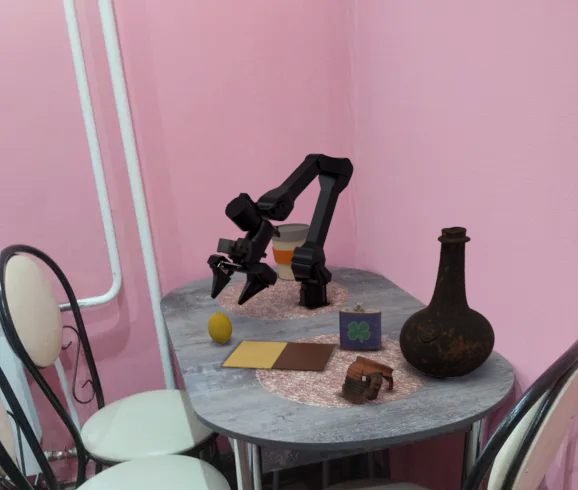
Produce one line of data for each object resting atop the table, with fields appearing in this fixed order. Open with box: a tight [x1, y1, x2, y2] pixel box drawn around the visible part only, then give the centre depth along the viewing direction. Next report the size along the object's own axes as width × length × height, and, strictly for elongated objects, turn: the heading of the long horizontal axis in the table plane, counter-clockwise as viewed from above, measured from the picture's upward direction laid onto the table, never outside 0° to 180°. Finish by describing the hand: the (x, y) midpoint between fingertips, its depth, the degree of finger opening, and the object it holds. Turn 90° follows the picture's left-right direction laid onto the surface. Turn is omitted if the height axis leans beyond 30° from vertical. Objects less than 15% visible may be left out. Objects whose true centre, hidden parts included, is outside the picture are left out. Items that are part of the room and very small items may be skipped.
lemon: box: [207, 311, 233, 345], centre depth 140 cm, size 6×6×8 cm
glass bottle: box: [398, 226, 496, 379], centre depth 115 cm, size 18×18×28 cm
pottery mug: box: [340, 355, 395, 405], centre depth 112 cm, size 12×10×8 cm
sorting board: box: [221, 340, 336, 372], centre depth 133 cm, size 14×22×1 cm, turn 75°
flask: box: [338, 301, 382, 352], centre depth 131 cm, size 9×3×11 cm, turn 74°
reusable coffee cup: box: [271, 222, 310, 281], centre depth 186 cm, size 13×13×15 cm
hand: (225, 301), depth 139 cm, fingers open, 9 cm apart
